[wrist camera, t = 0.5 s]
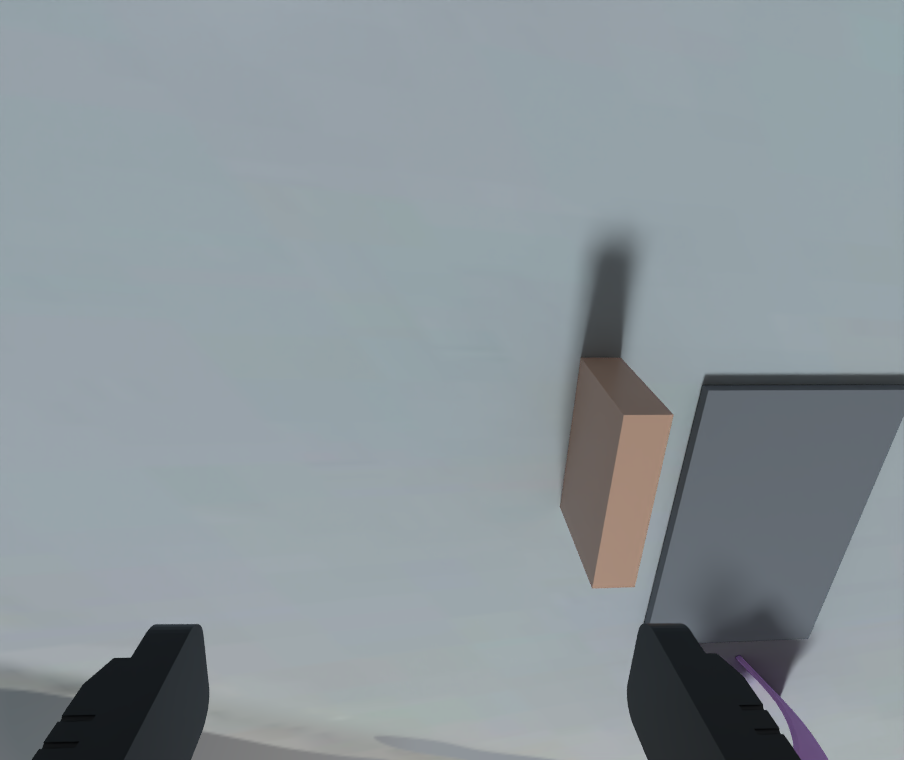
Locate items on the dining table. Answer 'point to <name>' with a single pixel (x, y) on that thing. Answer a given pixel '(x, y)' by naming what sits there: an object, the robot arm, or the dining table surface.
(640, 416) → the block
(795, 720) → the toy chair
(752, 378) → the dining table surface
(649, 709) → the robot arm
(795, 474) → the mat
